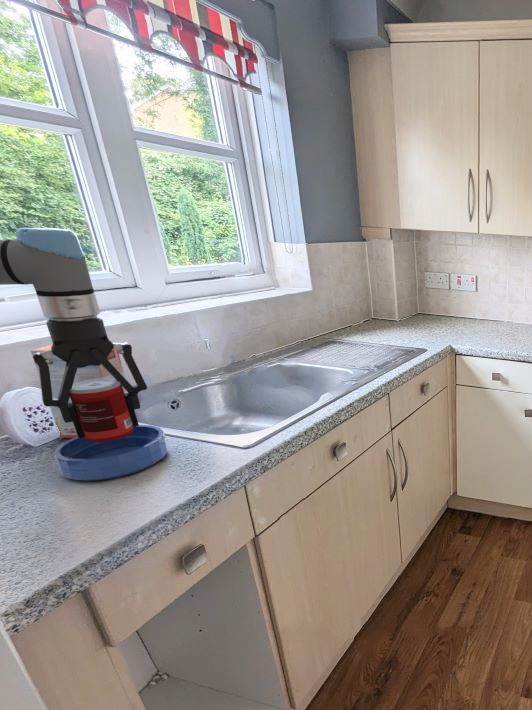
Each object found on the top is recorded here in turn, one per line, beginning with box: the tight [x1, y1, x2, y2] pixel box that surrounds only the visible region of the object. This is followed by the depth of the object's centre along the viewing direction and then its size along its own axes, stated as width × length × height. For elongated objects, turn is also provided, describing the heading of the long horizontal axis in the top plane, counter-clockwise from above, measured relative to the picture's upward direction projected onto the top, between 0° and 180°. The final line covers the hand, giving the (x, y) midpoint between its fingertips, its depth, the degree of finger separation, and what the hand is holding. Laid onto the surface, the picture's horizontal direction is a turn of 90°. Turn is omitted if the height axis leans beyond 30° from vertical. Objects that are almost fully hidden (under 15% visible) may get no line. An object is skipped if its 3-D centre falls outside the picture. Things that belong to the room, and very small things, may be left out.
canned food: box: [70, 378, 133, 442], centre depth 90 cm, size 8×8×11 cm
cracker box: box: [30, 344, 128, 439], centre depth 102 cm, size 14×6×21 cm, turn 88°
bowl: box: [53, 424, 169, 482], centre depth 93 cm, size 17×17×5 cm
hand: (108, 429), depth 91 cm, fingers closed on canned food, 8 cm apart
